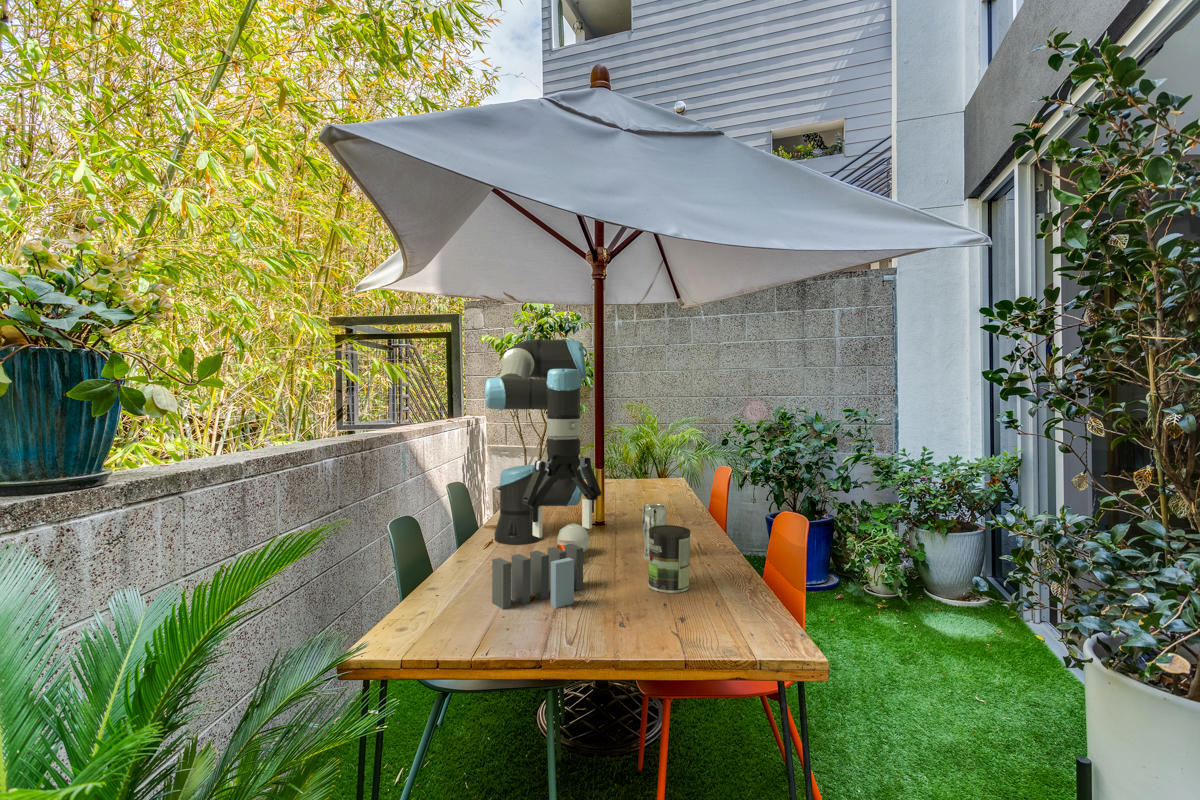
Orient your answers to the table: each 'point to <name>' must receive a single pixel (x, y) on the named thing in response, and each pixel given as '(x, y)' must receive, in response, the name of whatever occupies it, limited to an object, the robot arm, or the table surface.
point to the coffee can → (669, 558)
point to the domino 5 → (562, 582)
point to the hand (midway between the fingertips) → (562, 532)
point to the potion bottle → (573, 536)
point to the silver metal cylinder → (651, 522)
